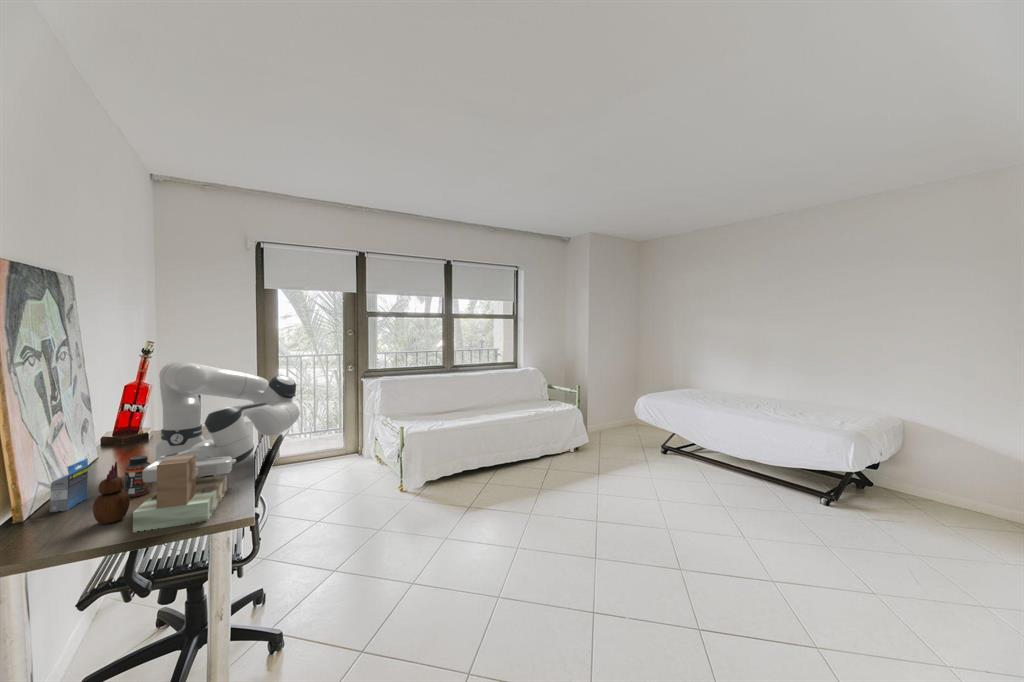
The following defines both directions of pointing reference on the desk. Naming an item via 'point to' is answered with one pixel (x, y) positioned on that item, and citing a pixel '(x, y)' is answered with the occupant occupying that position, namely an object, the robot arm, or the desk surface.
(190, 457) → the walnut block
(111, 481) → the wooden figurine
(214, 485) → the trap runway
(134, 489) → the supplement bottle
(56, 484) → the label tape box
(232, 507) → the desk surface
